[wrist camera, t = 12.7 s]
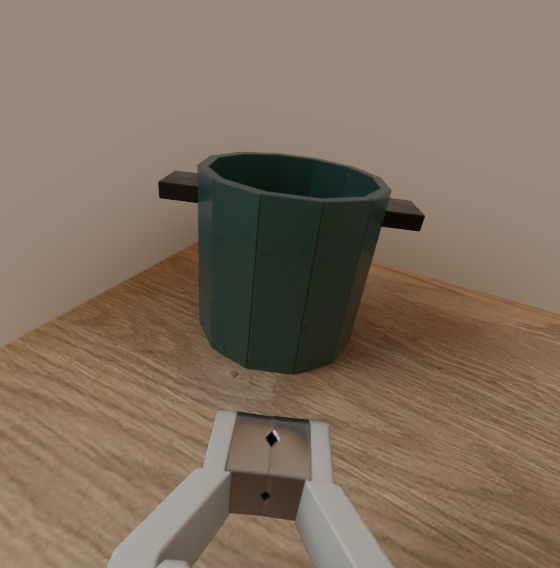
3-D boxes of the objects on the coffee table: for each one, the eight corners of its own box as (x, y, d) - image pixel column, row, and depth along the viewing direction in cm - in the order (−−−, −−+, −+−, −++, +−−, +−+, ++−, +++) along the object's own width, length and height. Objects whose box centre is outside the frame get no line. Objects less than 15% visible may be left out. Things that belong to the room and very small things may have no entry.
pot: (145, 356, 21) (123, 176, 15) (194, 272, 30) (191, 141, 25) (393, 387, 21) (461, 219, 15) (365, 293, 30) (401, 168, 25)
